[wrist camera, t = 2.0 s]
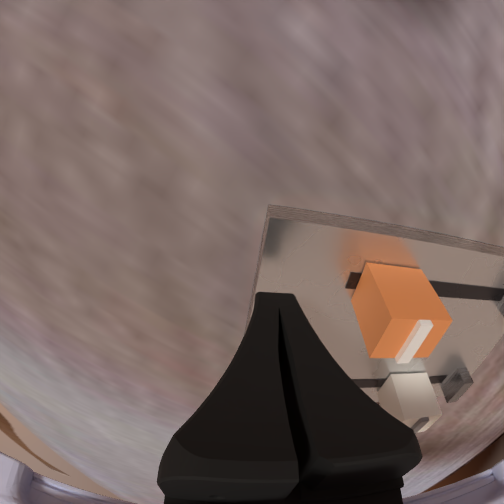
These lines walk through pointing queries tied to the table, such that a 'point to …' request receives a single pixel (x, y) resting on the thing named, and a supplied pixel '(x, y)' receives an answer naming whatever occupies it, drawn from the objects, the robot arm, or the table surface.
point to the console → (387, 253)
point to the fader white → (410, 400)
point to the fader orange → (398, 312)
